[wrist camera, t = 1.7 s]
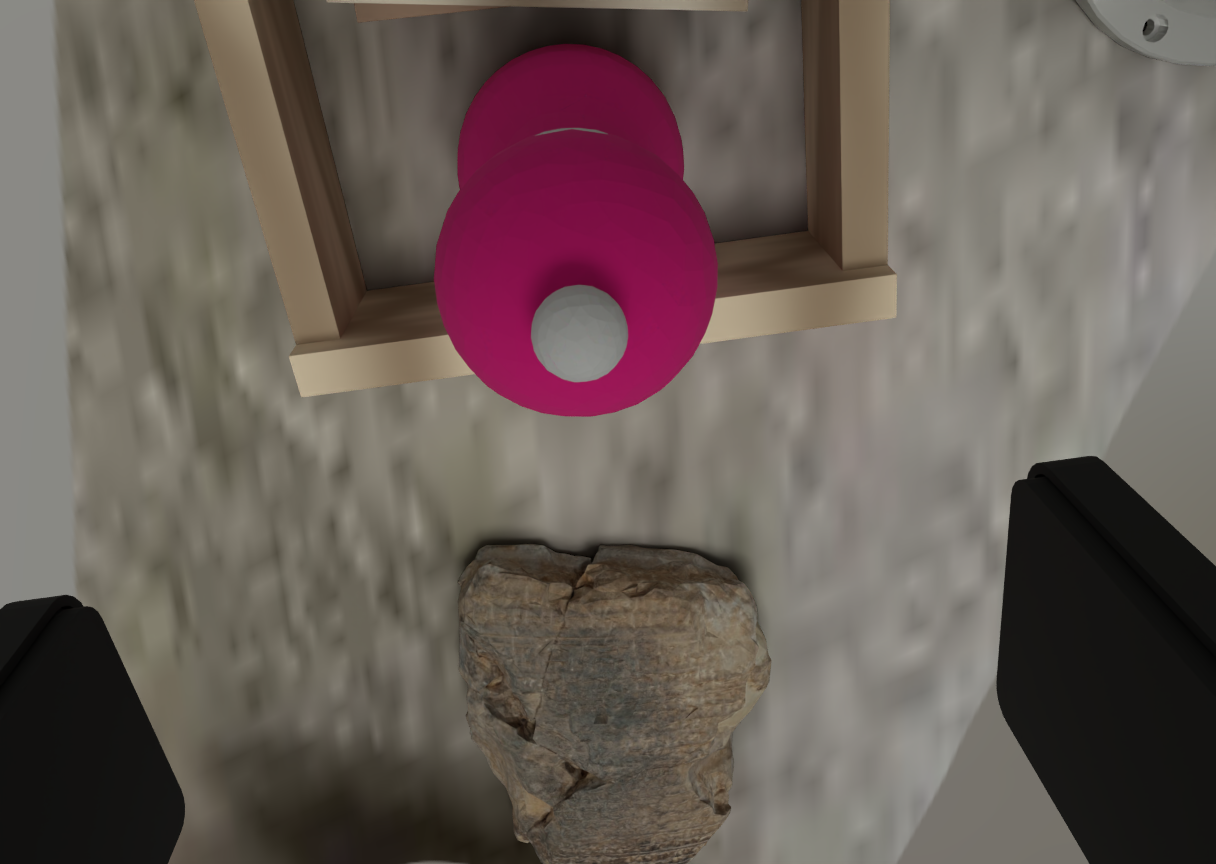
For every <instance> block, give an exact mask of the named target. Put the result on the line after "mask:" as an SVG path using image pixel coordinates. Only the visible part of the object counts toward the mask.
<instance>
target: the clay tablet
mask: <svg viewBox="0 0 1216 864" xmlns="http://www.w3.org/2000/svg"><path fill="white" fill-rule="evenodd" d="M458 583H459V585H460V586H461V591H460V595H459V599H458V610H459V623H460V650H459V672H460V674H461V676H462V677H463V679H465V681H466V682H467V684H468V685H469V686H468V691H467V703H468V712H467V714H466V719H467V721H468V724H469V727H470V735H471V739H472V740H473V741H474V742H475V744H476V745H477V746H478V747H479V748H480V749H481V750H482V752H483V753H484V754H485V756H486V758H487V761H488V763H489V765H490V767H491V769H492V771H493V773H494V775H495V776H496V777H497V778H498V779H499V780H500V781H501V782H502V783H503V784H504V786H505V787H506V789H507V792H508V794H509V797H510V799H511V802H512V805H513V812H512V816H513V822H514V833H515V835H516V838H517V839H518V840H519V841H522V842H526V843H528V842H529V841H530V842H531V844H532V845H533V847H534V849H535V851H536V853H537V855H538V857H539V859H540V861H541V862H542V863H543V864H686V863H687V862H689V861H691V860H692V859H693V858H694V857H695V855H696V854H697V853H698V852H699V851H700V849H701V848H702V847H703V846H705V845H706V843H707V841H708V840H709V839H710V838H711V836H712V835H713V834H714V833H715V832H716V831H717V830H718V829H719V827H720V826H721V825H722V824H723V822H724V821H725V820H726V818H727V817H728V815H729V814H730V810H731V807H730V805H729V804H728V799H729V795H728V791H729V790H730V788H731V786H732V777H733V770H734V760H733V755H732V736H733V731H734V729H735V728H736V726H737V725H738V724H739V723H740V722H741V720H742V719H743V718H744V717H745V716H746V715H747V714H748V713H749V712H750V711H751V710H752V708H753V707H754V705H755V704H756V702H757V701H758V699H759V698H760V696H761V695H762V693H763V692H764V690H765V689H766V687H767V685H768V682H769V678H770V669H771V659H770V657H769V654H768V649H767V644H766V639H765V637H764V634H763V632H762V630H761V628H760V626H759V624H758V622H757V619H758V618H757V605H756V603H755V600H754V598H753V596H752V594H751V592H750V590H749V589H748V588H747V586H746V585H745V584H744V583H743V582H741V581H738V578H737V576H736V575H735V574H734V573H733V572H732V571H731V570H730V569H729V568H728V567H723V566H717V565H715V564H713V563H712V562H710V561H708V560H706V559H705V558H703V557H701V556H699V555H698V554H695V553H690V552H684V551H679V550H674V549H657V548H642V547H638V546H634V545H618V546H608V545H600V546H599V549H598V553H597V554H596V555H595V557H594V560H593V561H592V559H591V558H588V557H583V556H579V555H577V556H572V555H569V554H563V553H556V552H554V551H552V550H551V549H549V548H547V547H545V546H544V545H535V544H522V545H485V546H484V547H482V548H481V549H479V550H478V553H477V555H476V558H475V560H474V561H473V562H472V563H470V564H469V565H468V566H467V567H466V569H465V570H464V572H463V573H462V575H461V576H460V578H459V581H458Z"/></svg>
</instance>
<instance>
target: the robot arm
mask: <svg viewBox="0 0 1216 864" xmlns="http://www.w3.org/2000/svg"><path fill="white" fill-rule="evenodd" d="M1076 2H1077V3H1078V4H1079V6H1080V7H1081V8H1082V10H1083V11H1084V12H1085V13H1086V15H1087V16H1088V17H1089V18H1090V20H1091V21H1092V22H1093V23H1094V25H1095V26H1096V27H1097V28H1099V29H1100V30H1101V31H1102V32H1104V33H1105V34H1106V35H1108V36H1109V37H1110V38H1112V39H1113V40H1114V41H1115V42H1117V43H1118V44H1119V45H1121V46H1123V47H1125V48H1128V49H1130V50H1132V51H1134V52H1137V53H1139V54H1141V55H1144V56H1146V57H1148V58H1152V59H1158V60H1162V61H1166V62H1171V63H1175V64H1184V65H1199V66H1216V0H1076ZM1146 21H1147V24H1148V25H1147V28H1146V30H1145V31H1144V32H1143V31H1142V30H1143V27H1144V24H1145V22H1146ZM997 695H998V700H999V705H1000V708H1001V710H1002V714H1003V716H1004V718H1005V720H1006V722H1007V724H1008V726H1009V727H1010V729H1011V731H1012V732H1013V734H1014V736H1015V737H1016V739H1017V741H1018V743H1019V744H1020V746H1021V747H1022V749H1023V751H1024V753H1025V754H1026V756H1027V758H1028V760H1029V761H1030V763H1031V764H1032V766H1033V768H1034V770H1035V771H1036V773H1037V775H1038V777H1039V778H1040V780H1041V782H1042V783H1043V785H1044V787H1045V788H1046V790H1047V792H1048V794H1049V795H1050V797H1051V799H1052V801H1053V802H1054V804H1055V805H1056V807H1057V809H1058V811H1059V812H1060V814H1061V816H1062V817H1063V819H1064V821H1065V823H1066V824H1067V826H1068V828H1069V830H1070V831H1071V833H1072V835H1073V836H1074V838H1075V840H1076V841H1077V843H1078V845H1079V847H1080V848H1081V850H1082V852H1083V853H1084V855H1085V857H1086V859H1087V860H1088V862H1089V864H1216V566H1215V565H1214V564H1213V563H1212V562H1211V561H1209V560H1208V559H1207V558H1206V557H1205V556H1204V555H1203V554H1202V553H1201V552H1200V551H1199V550H1198V549H1197V548H1196V547H1195V546H1193V545H1192V544H1191V543H1190V542H1189V541H1188V540H1187V539H1186V538H1185V537H1184V536H1183V535H1182V534H1180V532H1179V531H1177V530H1176V529H1175V528H1174V527H1173V526H1172V525H1171V524H1170V523H1169V522H1168V521H1167V520H1166V519H1165V518H1164V517H1162V516H1161V515H1160V514H1159V513H1158V512H1157V511H1156V510H1155V509H1154V508H1153V507H1152V506H1151V505H1149V504H1148V503H1147V502H1146V501H1145V500H1144V499H1143V498H1142V497H1141V496H1140V495H1139V494H1138V493H1137V492H1136V491H1134V489H1132V488H1131V487H1130V486H1129V485H1128V484H1127V483H1126V482H1125V481H1124V480H1123V479H1122V478H1121V477H1120V476H1119V475H1117V474H1116V473H1115V472H1114V471H1113V470H1112V469H1111V468H1110V467H1109V466H1108V465H1107V464H1106V463H1105V462H1104V461H1102V460H1101V459H1099V458H1098V457H1096V456H1086V457H1079V458H1071V459H1064V460H1057V461H1049V462H1042V463H1036V464H1035V465H1033V466H1032V467H1031V469H1030V471H1029V473H1028V477H1027V479H1023V480H1018V481H1017V482H1015V484H1014V486H1013V488H1012V494H1011V504H1010V517H1009V529H1008V542H1007V555H1006V568H1005V580H1004V593H1003V606H1002V618H1001V631H1000V644H999V657H998V669H997ZM184 817H185V803H184V797H183V794H182V791H181V788H180V786H179V784H178V782H177V780H176V777H175V775H174V773H173V771H172V769H171V767H170V764H169V762H168V760H167V758H166V756H165V754H164V751H163V749H162V747H161V745H160V743H159V741H158V738H157V736H156V734H155V732H154V730H153V728H152V725H151V723H150V721H149V719H148V717H147V715H146V712H145V710H144V708H143V706H142V704H141V702H140V699H139V697H138V695H137V693H136V691H135V689H134V686H133V684H132V682H131V680H130V678H129V676H128V673H127V671H126V669H125V667H124V665H123V663H122V660H121V658H120V656H119V654H118V652H117V650H116V647H115V645H114V643H113V641H112V639H111V637H110V634H109V632H108V630H107V628H106V626H105V624H104V621H103V619H102V617H101V616H100V614H99V613H98V611H96V610H95V609H94V608H93V607H88V606H86V607H84V606H83V605H82V603H81V602H80V601H79V600H77V599H76V598H75V597H73V596H69V595H62V596H55V597H47V598H40V599H32V600H25V601H17V602H12V603H9V604H6V605H5V606H4V607H3V608H1V609H0V864H168V862H169V859H170V857H171V855H172V852H173V850H174V847H175V845H176V843H177V840H178V838H179V835H180V833H181V830H182V827H183V823H184Z"/></svg>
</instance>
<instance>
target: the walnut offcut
mask: <svg viewBox="0 0 1216 864" xmlns="http://www.w3.org/2000/svg"><path fill="white" fill-rule="evenodd" d="M354 6H355V12H356V17H357V22H358V23H360V22H369V21H378V20H388V19H397V18H407V17H416V16H426V15H435V14H445V13H454V12H464V11H473V10H482V9H492V8H501V7H511V6H474V5H427V4H381V3H354Z"/></svg>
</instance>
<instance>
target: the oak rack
mask: <svg viewBox="0 0 1216 864" xmlns="http://www.w3.org/2000/svg"><path fill="white" fill-rule="evenodd" d="M194 2H195V5H196V9H197V12H198V15H199V19H200V22H201V25H202V29H203V32H204V35H205V39H206V42H207V46H208V49H209V52H210V56H211V59H212V62H213V66H214V69H215V72H216V76H217V79H218V83H219V86H220V89H221V93H222V96H223V99H224V103H225V106H226V110H227V113H228V116H229V120H230V123H231V126H232V130H233V133H234V136H235V140H236V143H237V147H238V150H239V153H240V157H241V160H242V163H243V167H244V170H245V173H246V177H247V180H248V184H249V187H250V190H251V194H252V197H253V200H254V204H255V207H256V211H257V214H258V217H259V221H260V224H261V227H262V231H263V234H264V237H265V241H266V244H267V248H268V251H269V254H270V258H271V261H272V264H273V268H274V271H275V275H276V278H277V281H278V285H279V288H280V291H281V295H282V298H283V301H284V305H285V308H286V312H287V315H288V318H289V322H290V325H291V328H292V332H293V335H294V338H295V342H296V346H295V348H294V349H293V351H292V352H291V354H290V355H289V358H290V361H291V365H292V368H293V371H294V375H295V378H296V381H297V385H298V388H299V391H300V395H301V397H308V396H315V395H323V394H330V393H337V392H345V391H352V390H360V389H367V388H375V387H382V386H390V385H397V384H405V383H412V382H419V381H427V380H434V379H442V378H449V377H457V376H464V375H472V374H475V373H474V372H473V371H472V370H471V369H470V368H469V367H468V366H467V364H466V363H465V362H464V360H463V359H462V358H461V356H460V355H459V354H458V352H457V351H456V350H455V348H454V346H453V344H452V342H451V340H450V338H449V335H448V333H447V331H446V329H445V327H444V325H443V321H442V318H441V314H440V311H439V308H438V304H437V299H436V291H435V283H434V282H428V283H421V284H413V285H406V286H399V287H391V288H384V289H377V290H369V291H367V289H366V285H365V281H364V277H363V274H362V270H361V266H360V262H359V258H358V254H357V250H356V246H355V242H354V238H353V234H352V230H351V226H350V222H349V218H348V214H347V210H346V206H345V202H344V199H343V195H342V191H341V187H340V183H339V179H338V175H337V171H336V167H335V163H334V159H333V155H332V151H331V147H330V143H329V139H328V135H327V131H326V127H325V124H324V120H323V116H322V112H321V108H320V104H319V100H318V96H317V92H316V88H315V84H314V80H313V76H312V72H311V68H310V64H309V60H308V56H307V52H306V49H305V45H304V41H303V37H302V33H301V29H300V25H299V21H298V17H297V13H296V9H295V5H294V1H293V0H194ZM801 10H802V44H803V77H804V111H805V144H806V177H807V211H808V231H803V232H796V233H788V234H781V235H774V236H766V237H759V238H752V239H744V240H737V241H730V242H722V243H715V250H716V256H717V262H718V287H717V292H716V298H715V303H714V308H713V313H712V316H711V319H710V322H709V325H708V327H707V330H706V333H705V335H704V337H703V339H702V340H701V342H700V344H703V343H710V342H718V341H725V340H733V339H740V338H747V337H755V336H762V335H770V334H777V333H785V332H792V331H800V330H807V329H815V328H822V327H829V326H837V325H844V324H852V323H859V322H867V321H874V320H882V319H889V318H896V301H897V274H896V273H895V272H894V271H893V270H892V269H891V268H890V267H889V266H888V265H887V261H888V151H889V40H890V0H801Z"/></svg>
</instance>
